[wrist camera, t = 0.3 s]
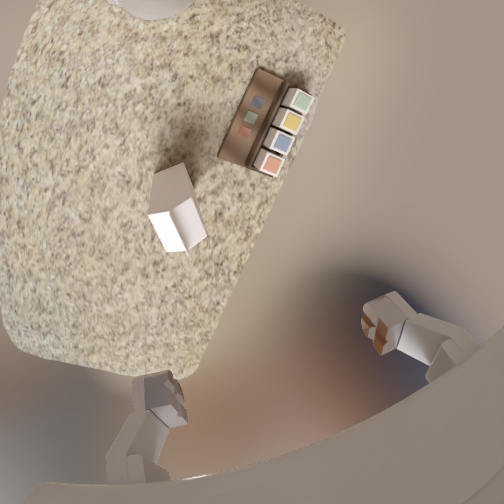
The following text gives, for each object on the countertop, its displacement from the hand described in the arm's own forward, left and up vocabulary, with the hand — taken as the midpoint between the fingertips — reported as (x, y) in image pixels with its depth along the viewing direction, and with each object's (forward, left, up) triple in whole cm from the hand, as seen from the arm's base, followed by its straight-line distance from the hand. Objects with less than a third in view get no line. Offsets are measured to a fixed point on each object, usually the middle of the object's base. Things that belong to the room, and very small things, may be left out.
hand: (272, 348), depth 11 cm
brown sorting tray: (-1, +14, -46) cm, 48 cm away
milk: (+7, -4, -46) cm, 47 cm away
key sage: (-5, +19, -42) cm, 47 cm away
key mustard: (-2, +17, -42) cm, 46 cm away
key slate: (+2, +15, -42) cm, 45 cm away
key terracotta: (+5, +13, -42) cm, 45 cm away
